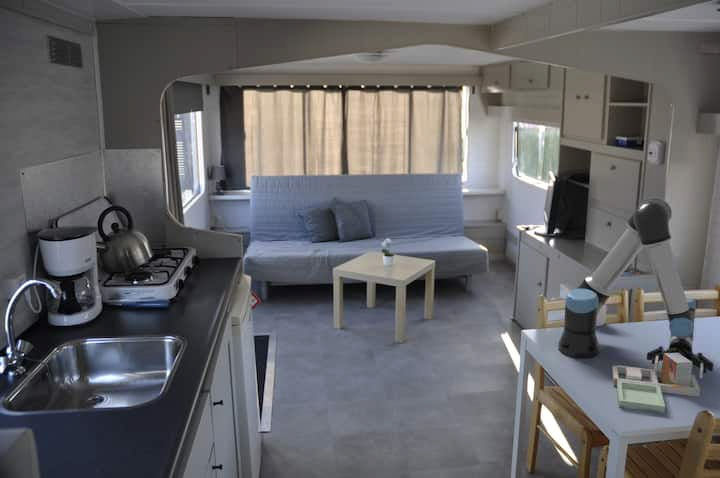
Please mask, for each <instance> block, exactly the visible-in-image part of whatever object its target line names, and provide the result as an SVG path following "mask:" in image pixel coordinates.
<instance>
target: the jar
mask: <svg viewBox="0 0 720 478" xmlns="http://www.w3.org/2000/svg"><path fill="white" fill-rule="evenodd" d="M606 311H607V303H606V302H605V303H604V305H603V306H602V307H601V309H600V310H599V312H598V314H597V322H596V327H597V326H599V327H602V326H604V325H605V324H606V314H607V313H606Z"/></svg>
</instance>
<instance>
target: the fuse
mask: <svg viewBox="0 0 720 478" xmlns="http://www.w3.org/2000/svg"><path fill="white" fill-rule="evenodd" d="M632 367H633V366H627V367H626V371H625V374H624V376H625V377H624V378H625V379H628V380H636V381H642V379H643V376H642V375H641V371H640V368H641V367H636V368H632Z"/></svg>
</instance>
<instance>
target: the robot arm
mask: <svg viewBox="0 0 720 478" xmlns="http://www.w3.org/2000/svg"><path fill="white" fill-rule="evenodd" d="M671 218H672V209H671V206H670V204H669V203H668V202H667V201H666V200H664V199H663V198H660V197H648V198H646V199H643V200H642V201H641V202H640V203H639V204H638V206H637V208H636V209H635V211H634V212H633V213H632V214H631V216H630V217H629V219H628V220H627V222H626V226H627V228H626V229H625V230H624V232H623V234H622V235H621V236H620V237H619V239H618V240H617V241H616V243H615V244H614V245H613V247H612V248H611V250H610V251H609V252H608V254H606V256H605V257H604V258H603V260H602V261H601V263H600V264H599V266H598V267H597V268H596V269H595V271H594V272H593V273H592V275H589V276H585V277H584V279H583V280H582V281H581V283H580V284H579V286H577V287H576V288H575V289H571V290H569V291H568V292H567V293H566V296H565V300H564V305H565V306H564V323H563V330H562V333H561V335H560V339H559V341H558V344H557V345H558V347H557V348H558V351H559V352H560V353H561V354H564V355H566V356H569V357H573V358H580V359H590V358H595V357H597V356H598V355H599V354H600V344H599V340H598V336H597V333H596V332H597V326H596V322H597V314H598V312H599V310H600V309H601V307H602V306H603V305H604V303H605V304H606V302H607V301H608V300H609V298H610V297H611V296H612V290H611V289H612V288H613V286H614V285H615V284H616V282H618V280H619V279H620V277H621V276H622V275H623V274H624V272H625V271H626V270H627V269H628V267H629V266H630V265H631V263H632V262H633V261H634V260H635V258H636V257H637V255H638V254H639V253H640V252H641V250H642V249H643V248H644V247H645V248H646V252H647V254H648V258H649V261H650V264H651V267H652V271H653V274H654V278H655V279H656V284H657V287H658V290H659V292H660V296H661V299H662V300H661V301H662V302H663V306H664V309H665V312H666V313H665V314H666V317H667V320H668V323H669V325H668V327H669V331H670V336H669V337H670V340H669V345H668V348H667V349H665V348H664V347H663V346H662V345H659V346H658V347H657V348H655V349H652V350H651V351H649V352H647V353H646V360H647V361H651V364H652V365H654V367H653V368H654V369H653V370H658V365H659V362H660V361H661V362H663V355H664V353H680V354H681V355H682V356H684V357H685V358H687V359H688V360H690V361H692V362H693V364H692V366H695V367H697V368H698V369H699V378H700V379H703V376H704V374H706V373H707V372H708V371H709V372H713V369H714V363H713V362H712V361H711V360H709V359H708V358H707V357H705V356H704V355H703V352H698V353H697V354H696V353H694V352H693V347H694V346H693V341H694V334H695V333H694V332H695V331H694V330H695V318H696V310H697V309H696V308H697V307H696V304H697V303H696V301H695V299H694V298H689V297H686V294H685V290H684V287H683V284H682V280H681V277H680V275H679V270H678V267H677V264H676V259H675V258H674V255H673V252H672V251H673V250H672V248H671V244H670V241H671V239H672V236H671V234H670V233H671V232H670V227H669V225H670V223H669V222H670V220H671ZM703 373H704V374H703Z"/></svg>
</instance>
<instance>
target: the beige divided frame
mask: <svg viewBox="0 0 720 478" xmlns="http://www.w3.org/2000/svg"><path fill="white" fill-rule="evenodd" d="M626 367H628V366H625V365H616V364H612V367H611V369H612V370H611V373H612V382H613V383H612V384H613V386H614V387H617V380H621V381H629V382H637V383H645V384H653V385H660V388H661V392H662V393H668V394H675V395H681V396H682V395H683V396H691V397H696V398H697V397H698V398H699V397H700V394H701V388H700V386H699V383H698V381H697V378H696V376H695V374H694V373H691V380H690V387H685V386H683V385H675V384H671V385H668V384H664V383H659V381H658V379H661V372H662V369H657V370H654V369H652V368H642V367H639V368H640V371H641V375H642V377H649V380H650V382H649V381H636V380H628V379H626V378H625V379H624V378H619V374H623V375H625V371H626ZM631 367H632V368H637V367H635V366H631Z"/></svg>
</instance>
